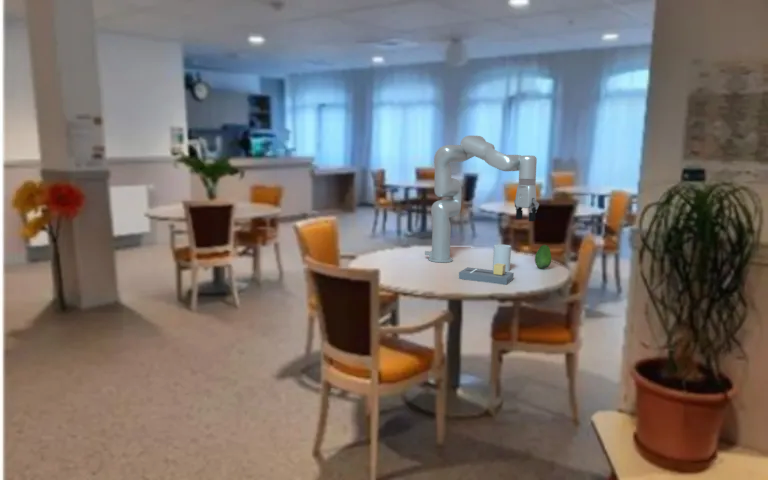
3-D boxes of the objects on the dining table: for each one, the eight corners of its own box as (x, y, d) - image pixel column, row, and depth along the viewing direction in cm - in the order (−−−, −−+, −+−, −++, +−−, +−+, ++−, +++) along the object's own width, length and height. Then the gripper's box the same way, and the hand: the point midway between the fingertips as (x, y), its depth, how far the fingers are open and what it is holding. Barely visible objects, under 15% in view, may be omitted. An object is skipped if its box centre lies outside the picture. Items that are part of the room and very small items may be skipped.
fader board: (458, 278, 265) (459, 272, 264) (467, 273, 275) (467, 267, 275) (506, 284, 255) (506, 277, 254) (513, 279, 266) (513, 272, 265)
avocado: (554, 269, 287) (555, 245, 285) (542, 271, 284) (543, 246, 282) (542, 266, 294) (544, 243, 292) (530, 267, 291) (532, 244, 288)
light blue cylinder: (510, 269, 287) (512, 245, 285) (508, 272, 279) (509, 247, 277) (494, 267, 289) (495, 243, 287) (491, 271, 282) (492, 246, 280)
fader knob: (493, 274, 261) (493, 265, 260) (496, 271, 265) (497, 263, 264) (502, 275, 259) (502, 266, 258) (505, 272, 263) (505, 264, 263)
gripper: (509, 181, 272) (507, 218, 274) (532, 184, 256) (530, 222, 259) (522, 181, 275) (520, 217, 277) (545, 183, 259) (544, 221, 262)
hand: (525, 219), depth 268 cm, fingers open, 9 cm apart
